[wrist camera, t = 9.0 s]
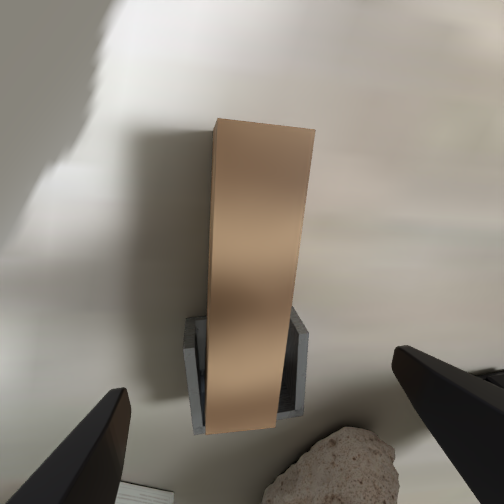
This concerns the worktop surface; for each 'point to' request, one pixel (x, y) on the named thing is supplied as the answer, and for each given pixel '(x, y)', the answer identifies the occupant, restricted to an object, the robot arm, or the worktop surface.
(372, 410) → the worktop surface
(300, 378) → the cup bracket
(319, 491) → the pumice stone
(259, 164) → the walnut rail
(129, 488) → the supplement box
